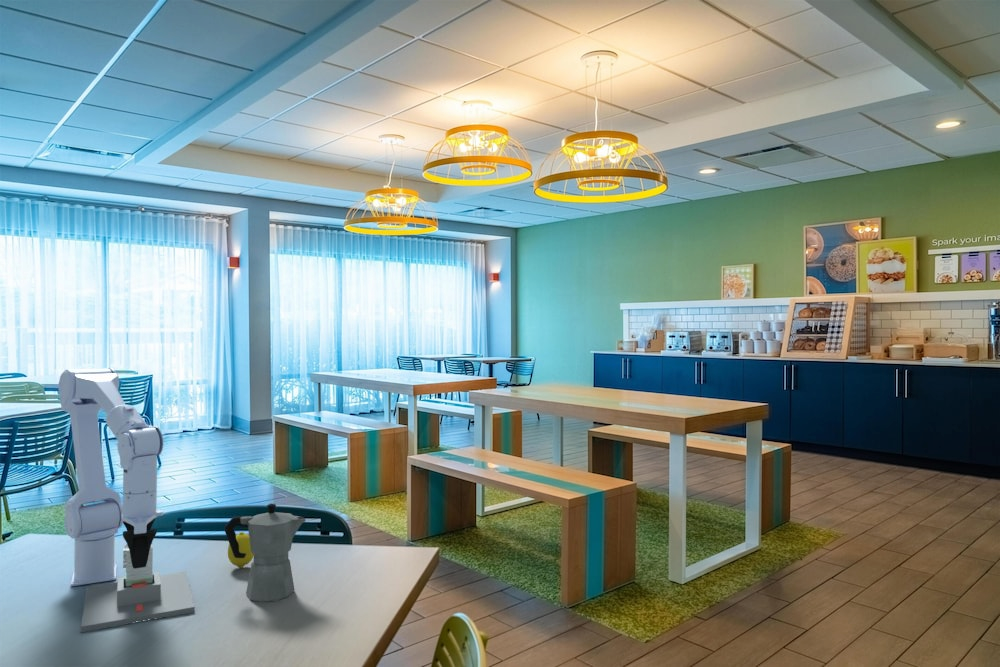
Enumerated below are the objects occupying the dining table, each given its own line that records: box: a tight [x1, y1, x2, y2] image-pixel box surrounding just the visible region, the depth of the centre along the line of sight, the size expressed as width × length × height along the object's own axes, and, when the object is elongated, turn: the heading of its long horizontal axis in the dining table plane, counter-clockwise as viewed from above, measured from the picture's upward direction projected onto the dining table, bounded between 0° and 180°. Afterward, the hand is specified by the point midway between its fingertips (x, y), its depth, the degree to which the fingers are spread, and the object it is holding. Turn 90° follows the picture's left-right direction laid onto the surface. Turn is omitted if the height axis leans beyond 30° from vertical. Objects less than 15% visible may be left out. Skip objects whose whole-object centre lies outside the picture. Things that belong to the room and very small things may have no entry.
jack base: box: [80, 571, 196, 633], centre depth 129 cm, size 20×18×4 cm
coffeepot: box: [224, 503, 307, 603], centre depth 134 cm, size 15×9×18 cm, turn 101°
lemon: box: [227, 531, 254, 569], centre depth 147 cm, size 6×6×8 cm
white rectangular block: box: [122, 543, 154, 587], centre depth 129 cm, size 5×5×7 cm
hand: (139, 560), depth 129 cm, fingers open, 7 cm apart
